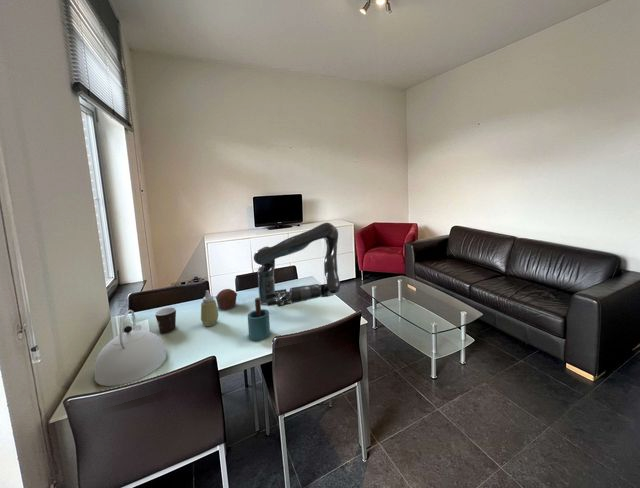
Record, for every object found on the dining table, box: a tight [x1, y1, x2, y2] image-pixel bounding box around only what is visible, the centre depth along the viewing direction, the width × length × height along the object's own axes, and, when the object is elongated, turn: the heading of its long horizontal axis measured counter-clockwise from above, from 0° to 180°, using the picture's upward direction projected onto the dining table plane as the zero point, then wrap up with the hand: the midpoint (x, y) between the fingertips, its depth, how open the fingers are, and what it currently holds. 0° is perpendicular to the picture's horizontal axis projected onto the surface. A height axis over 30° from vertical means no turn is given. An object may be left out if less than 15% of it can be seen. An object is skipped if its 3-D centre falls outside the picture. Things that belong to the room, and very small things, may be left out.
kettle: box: [94, 309, 167, 387], centre depth 121 cm, size 25×23×22 cm
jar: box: [247, 308, 271, 342], centre depth 142 cm, size 9×9×11 cm
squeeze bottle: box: [200, 289, 219, 327], centre depth 153 cm, size 8×8×18 cm
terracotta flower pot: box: [215, 288, 238, 311], centre depth 173 cm, size 12×11×10 cm
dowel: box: [254, 297, 262, 317], centre depth 142 cm, size 5×5×18 cm
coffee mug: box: [154, 306, 177, 335], centre depth 147 cm, size 12×9×10 cm
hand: (266, 300), depth 142 cm, fingers open, 8 cm apart
